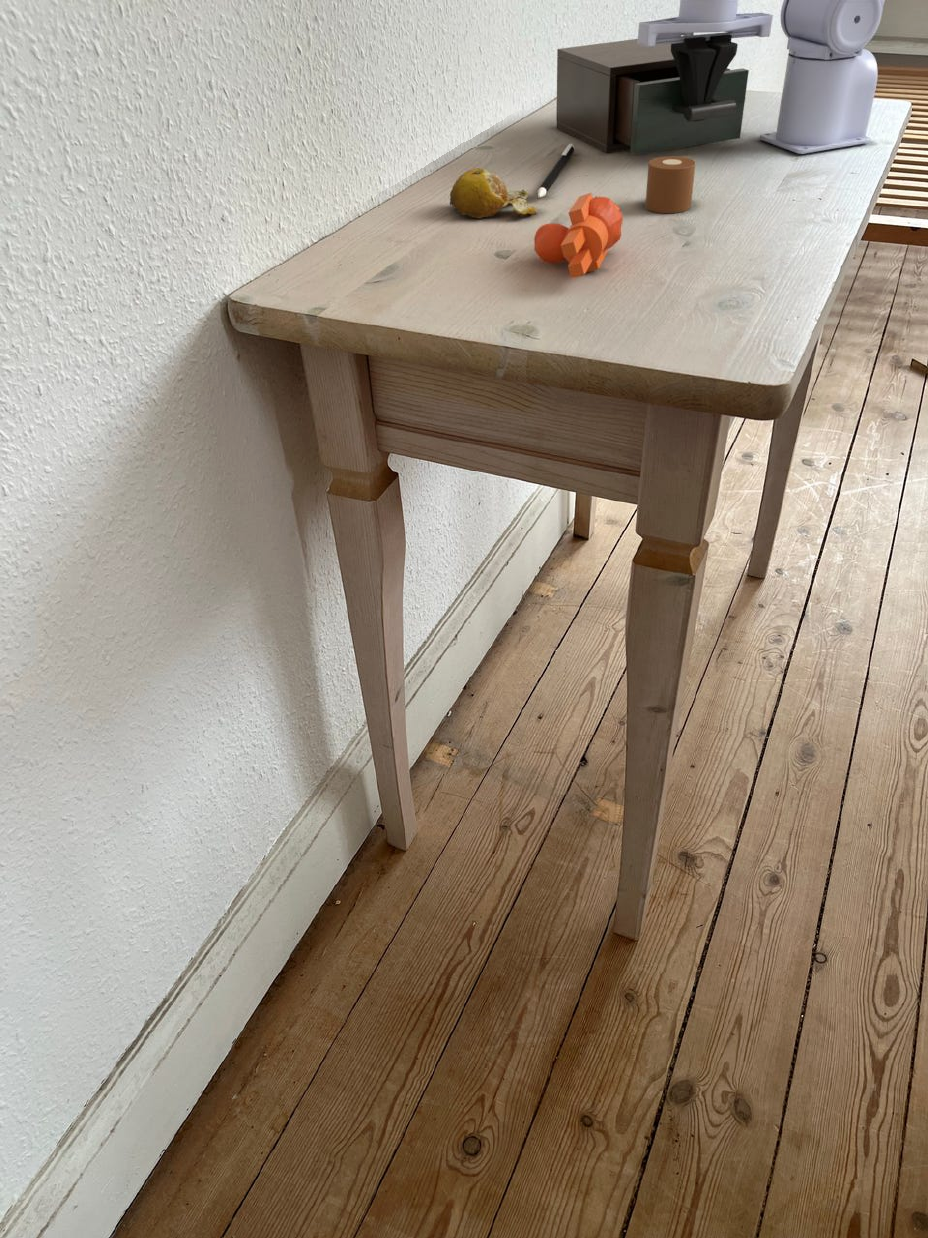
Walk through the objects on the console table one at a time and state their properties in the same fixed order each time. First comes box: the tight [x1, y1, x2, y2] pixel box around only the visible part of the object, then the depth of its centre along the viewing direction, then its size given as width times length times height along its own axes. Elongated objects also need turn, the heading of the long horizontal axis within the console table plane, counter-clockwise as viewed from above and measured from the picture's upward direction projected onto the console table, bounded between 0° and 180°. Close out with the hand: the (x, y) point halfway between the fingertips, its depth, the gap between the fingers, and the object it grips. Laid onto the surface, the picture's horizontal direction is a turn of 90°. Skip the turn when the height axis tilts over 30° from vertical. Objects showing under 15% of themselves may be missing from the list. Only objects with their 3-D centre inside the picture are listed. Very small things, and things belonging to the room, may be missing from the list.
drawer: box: [613, 67, 750, 156], centre depth 105 cm, size 17×13×7 cm
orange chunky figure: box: [533, 192, 624, 279], centre depth 80 cm, size 5×8×12 cm
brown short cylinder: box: [644, 155, 696, 214], centre depth 91 cm, size 4×4×4 cm
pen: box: [537, 143, 576, 198], centre depth 101 cm, size 1×19×1 cm, turn 164°
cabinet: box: [555, 38, 677, 154], centre depth 111 cm, size 14×15×9 cm
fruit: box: [449, 167, 538, 220], centre depth 92 cm, size 8×8×4 cm
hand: (694, 118), depth 101 cm, fingers closed, pressing on drawer
